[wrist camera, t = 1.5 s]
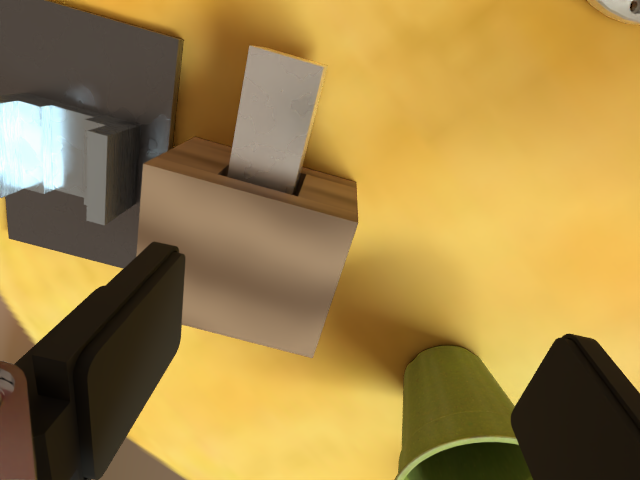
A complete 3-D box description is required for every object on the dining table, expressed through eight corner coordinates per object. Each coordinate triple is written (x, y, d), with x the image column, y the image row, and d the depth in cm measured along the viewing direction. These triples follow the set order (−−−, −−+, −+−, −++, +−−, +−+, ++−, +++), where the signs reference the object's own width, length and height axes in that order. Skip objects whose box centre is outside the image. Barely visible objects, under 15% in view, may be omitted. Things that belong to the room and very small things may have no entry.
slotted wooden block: (194, 136, 28) (143, 163, 21) (356, 182, 29) (358, 222, 22) (179, 256, 33) (132, 311, 25) (320, 293, 33) (312, 358, 26)
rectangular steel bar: (264, 46, 24) (249, 45, 21) (327, 65, 24) (323, 67, 21) (219, 288, 32) (203, 318, 28) (268, 301, 32) (257, 332, 28)
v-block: (-3, -15, 25) (-80, -30, 21) (183, 39, 26) (147, 36, 21) (16, 234, 33) (-38, 262, 28) (159, 272, 33) (129, 305, 29)
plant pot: (420, 438, 39) (445, 571, 29) (354, 359, 36) (355, 479, 26) (536, 391, 36) (609, 524, 26) (475, 298, 32) (533, 410, 22)
